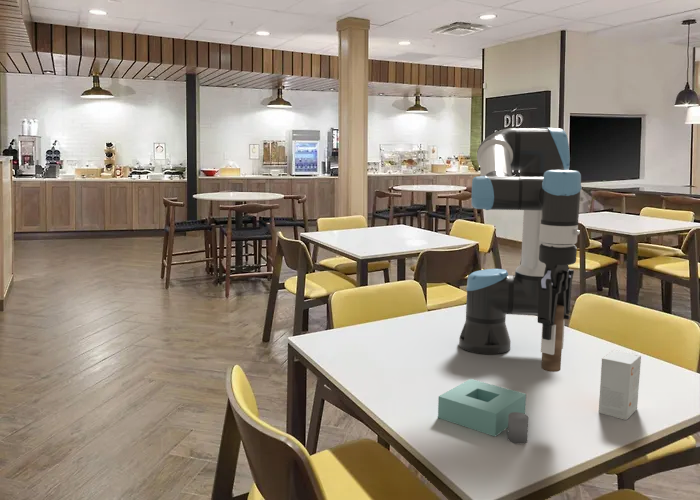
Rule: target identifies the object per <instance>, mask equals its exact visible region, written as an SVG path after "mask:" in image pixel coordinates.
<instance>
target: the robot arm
mask: <svg viewBox="0 0 700 500" xmlns="http://www.w3.org/2000/svg"><path fill="white" fill-rule="evenodd" d="M476 152H477V153H476V160H477V163H478V166H479V167H480V173H479V176H474V177H473V178H472V181H471V207H472V208H473V209H476V210H485V211H489V210H492V211H493V210H494V211H498V210H499V211H504V210H505V211H523V215H522V216H523V217H522V219H523V220H522V221H523V222H522V239H521V255H520V256H521V259H520V265H517V267H516V268H515V270H514V271H515V272H514V274H513V275H512V274H509V273H508V270H506V269H504V268H487V269H480V270H476V271H473V272H471V273H470V274H469V275H468V277H467V282H466V288H465V290H466V304H465V305H466V307H465V308H466V309H465V322H464V323H463V324H464V325H463V327H462V330H461V332H460V335H459V341H458V344H459V345H458V346H459V347H460V348H461V349H462V350H464V351H468V352H470V353H475V354H482V355H496V354H497V355H498V354H503V353H507V352H508V351H510V349H511V343H512V342H511V338H510V334H509V331H508V327H507V324H506V315H513V316H515V315H516V316H533V317H537V323H538V324H541V327H542V328H541V342H540V353H541V354H542V353H546V354H551V355H554V352H555V335H556V325H555V324H554V321H555V313H556V306H557V304H558V305H562V306H564V320H563V336H562V350H563V349H564V340H565V339H564V337H565V322H566V320H567V321H568V320H570V318H571V317H570V316H571V315H569V314H570V313H571V312H570V311H571V300H572V299H571V298H572V297H571V296H572V286H573V285H572V284H573V278H574V273H575V271H574V269H570V267H569V266H571V265H574V264H576V262H577V254H578V253H577V252H578V248H577V246H576V245H575V244H577V243H578V236H579V235H580V233H581V232H580V230H579V219H580V218H579V215H580V203H581V202H580V201H581V191H582V187H583V186H582V174H581V173H580V171H579V170H572V169H570V161H571V157H570V156H571V154H570V144H569V138H568V134H567V132H566V131H565V130H564V129H563V128H557V127H556V128H555V127H535V128H534V127H530V128H529V127H527V128H526V127H523V128H521V127H520V128H519V127H518V128H516V127H510V128H504V129H501V130H497V131H496V132H494V133H492V134H491V135H488V136H487V137H485V139H483V141H482V142H480V145H479V146H478V148H477V151H476ZM512 171H519V176H513V174H512Z"/></svg>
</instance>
